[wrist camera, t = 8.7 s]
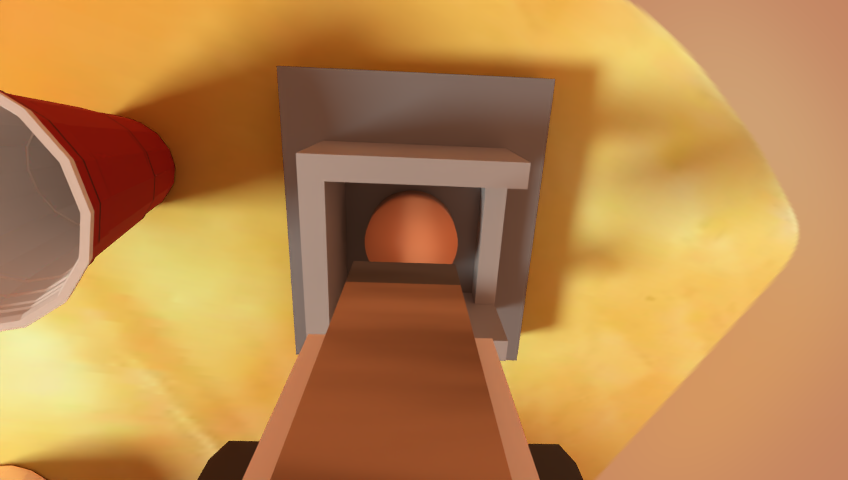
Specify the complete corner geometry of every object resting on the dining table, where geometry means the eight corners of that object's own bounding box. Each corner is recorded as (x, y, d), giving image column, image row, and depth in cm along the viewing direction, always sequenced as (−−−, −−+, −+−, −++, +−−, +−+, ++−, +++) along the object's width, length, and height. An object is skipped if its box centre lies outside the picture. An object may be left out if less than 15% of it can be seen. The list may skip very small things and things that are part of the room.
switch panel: (507, 336, 31) (539, 419, 23) (307, 330, 31) (268, 413, 23) (539, 81, 25) (596, 73, 17) (292, 69, 25) (233, 56, 17)
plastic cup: (248, 212, 28) (133, 292, 16) (107, 262, 29) (-95, 370, 17) (164, 44, 24) (-57, -2, 13) (7, 107, 25) (-326, 115, 14)
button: (451, 273, 26) (454, 287, 24) (368, 270, 26) (364, 284, 24) (457, 192, 24) (461, 200, 22) (368, 188, 24) (364, 196, 22)
